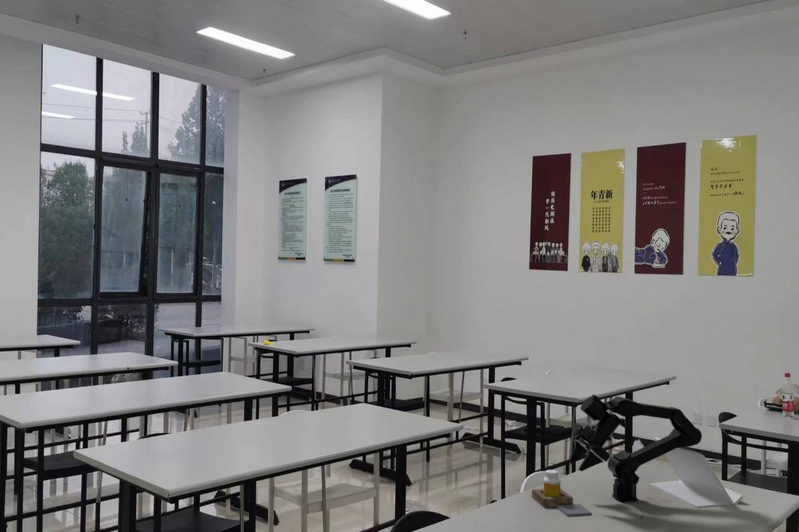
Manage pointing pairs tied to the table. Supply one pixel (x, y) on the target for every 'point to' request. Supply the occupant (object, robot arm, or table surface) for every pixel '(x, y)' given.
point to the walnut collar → (551, 498)
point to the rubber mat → (574, 510)
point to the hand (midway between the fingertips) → (574, 466)
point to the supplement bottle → (551, 484)
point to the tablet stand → (695, 481)
